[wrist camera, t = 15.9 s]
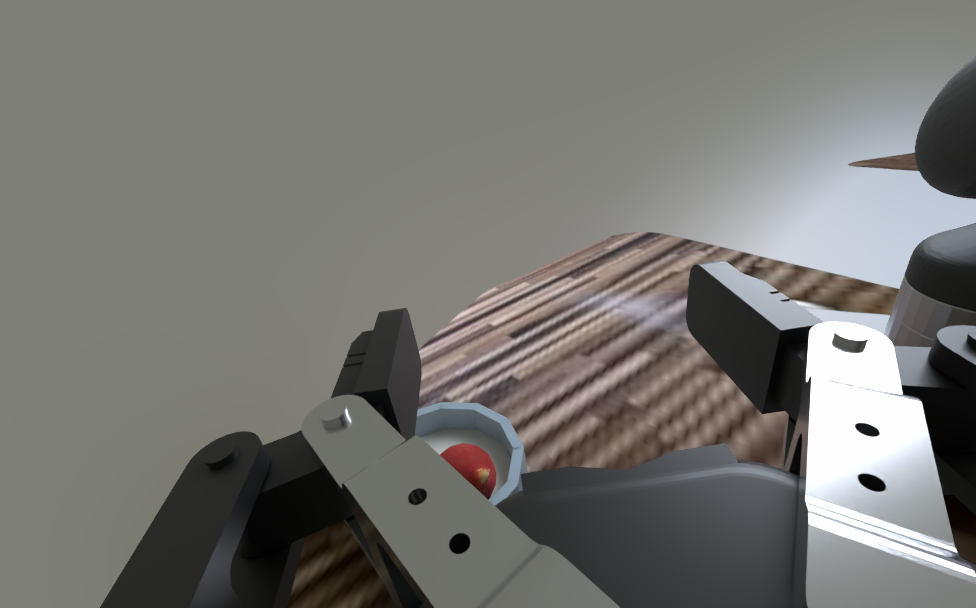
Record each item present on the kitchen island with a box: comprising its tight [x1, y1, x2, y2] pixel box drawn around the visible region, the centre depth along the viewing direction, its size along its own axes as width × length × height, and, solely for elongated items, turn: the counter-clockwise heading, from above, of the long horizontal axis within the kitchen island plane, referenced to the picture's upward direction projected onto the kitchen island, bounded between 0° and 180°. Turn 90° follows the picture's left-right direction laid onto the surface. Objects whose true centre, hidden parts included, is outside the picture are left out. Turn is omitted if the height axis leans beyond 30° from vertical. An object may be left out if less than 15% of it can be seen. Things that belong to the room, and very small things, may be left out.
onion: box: [440, 443, 497, 500], centre depth 39 cm, size 6×6×8 cm
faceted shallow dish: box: [415, 402, 527, 506], centre depth 43 cm, size 16×16×4 cm
